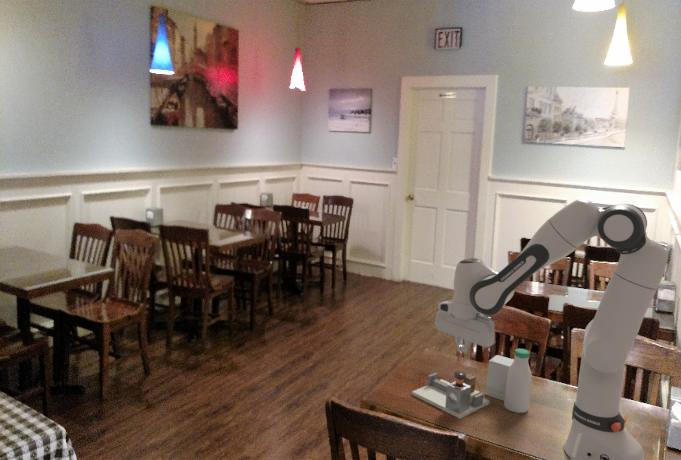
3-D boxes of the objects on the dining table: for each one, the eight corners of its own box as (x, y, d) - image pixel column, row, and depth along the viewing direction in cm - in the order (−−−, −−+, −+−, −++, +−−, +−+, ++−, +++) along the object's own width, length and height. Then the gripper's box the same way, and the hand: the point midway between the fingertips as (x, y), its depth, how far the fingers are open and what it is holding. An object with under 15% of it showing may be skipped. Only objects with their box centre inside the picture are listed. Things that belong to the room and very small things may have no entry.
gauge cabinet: (468, 412, 180) (471, 386, 178) (458, 417, 176) (460, 391, 174) (455, 405, 184) (457, 380, 182) (444, 410, 180) (446, 384, 178)
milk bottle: (529, 415, 179) (536, 356, 176) (504, 411, 181) (511, 353, 177) (526, 404, 187) (533, 347, 183) (503, 400, 188) (508, 345, 185)
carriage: (479, 400, 184) (481, 377, 183) (470, 405, 181) (472, 381, 180) (464, 394, 189) (466, 371, 187) (455, 398, 186) (457, 375, 184)
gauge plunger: (466, 397, 179) (468, 374, 177) (459, 400, 176) (461, 377, 175) (456, 393, 181) (459, 370, 180) (450, 396, 179) (452, 373, 178)
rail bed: (489, 404, 186) (490, 390, 185) (460, 418, 175) (461, 404, 174) (441, 382, 200) (442, 369, 200) (412, 394, 190) (413, 381, 189)
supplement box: (505, 401, 188) (509, 366, 186) (484, 394, 192) (488, 360, 190) (513, 394, 194) (517, 359, 192) (493, 387, 198) (496, 354, 196)
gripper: (500, 316, 168) (496, 359, 171) (446, 299, 183) (443, 339, 186) (488, 320, 164) (484, 364, 166) (434, 302, 179) (430, 343, 181)
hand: (462, 351), depth 176 cm, fingers closed
